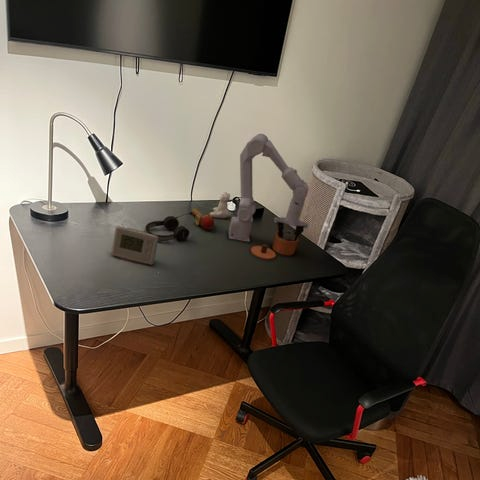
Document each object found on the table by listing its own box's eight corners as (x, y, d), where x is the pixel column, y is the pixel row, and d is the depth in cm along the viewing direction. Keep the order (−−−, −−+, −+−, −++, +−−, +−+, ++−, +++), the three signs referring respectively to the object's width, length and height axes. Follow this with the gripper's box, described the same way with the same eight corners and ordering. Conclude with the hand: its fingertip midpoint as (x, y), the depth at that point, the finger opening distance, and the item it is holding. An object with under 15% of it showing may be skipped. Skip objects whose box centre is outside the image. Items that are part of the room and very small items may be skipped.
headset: (199, 217, 193) (154, 225, 184) (197, 238, 199) (153, 247, 190) (183, 203, 202) (139, 210, 192) (182, 224, 208) (140, 231, 198)
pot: (273, 253, 205) (277, 239, 201) (270, 243, 213) (274, 229, 209) (295, 257, 207) (300, 243, 203) (292, 247, 215) (296, 233, 211)
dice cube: (292, 245, 207) (295, 235, 204) (282, 245, 205) (285, 235, 202) (287, 240, 211) (291, 230, 208) (278, 240, 209) (280, 229, 206)
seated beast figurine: (213, 210, 231) (218, 186, 224) (230, 215, 230) (235, 191, 223) (208, 216, 223) (213, 192, 216) (226, 221, 222) (231, 197, 216)
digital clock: (108, 255, 174) (110, 229, 168) (120, 246, 181) (122, 221, 175) (148, 269, 171) (151, 243, 166) (159, 260, 179) (162, 235, 173)
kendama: (184, 217, 219) (200, 229, 206) (188, 204, 217) (204, 215, 204) (199, 220, 224) (215, 232, 210) (203, 207, 221) (219, 219, 208)
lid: (251, 258, 197) (253, 248, 195) (249, 246, 206) (251, 237, 204) (276, 262, 199) (279, 253, 197) (273, 250, 208) (275, 241, 206)
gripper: (279, 211, 195) (271, 241, 203) (312, 218, 198) (303, 247, 205) (277, 205, 201) (269, 234, 208) (309, 211, 203) (300, 239, 211)
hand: (286, 240), depth 207 cm, fingers closed on dice cube, 6 cm apart
